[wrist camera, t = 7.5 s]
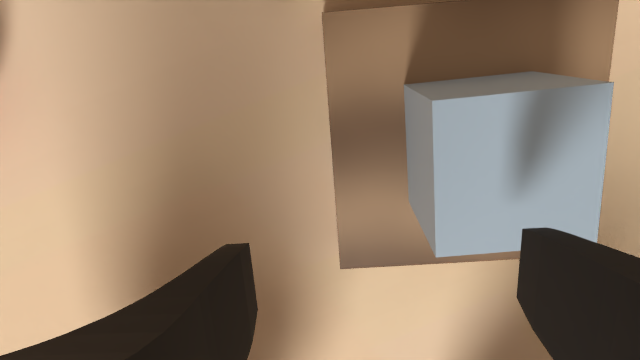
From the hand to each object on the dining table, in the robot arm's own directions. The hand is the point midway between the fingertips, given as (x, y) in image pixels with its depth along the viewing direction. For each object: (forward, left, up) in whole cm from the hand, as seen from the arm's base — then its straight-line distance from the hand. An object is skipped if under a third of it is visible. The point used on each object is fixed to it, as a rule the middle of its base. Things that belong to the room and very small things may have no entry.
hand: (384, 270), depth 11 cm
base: (+1, -4, -10) cm, 11 cm away
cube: (+2, -4, -7) cm, 9 cm away
